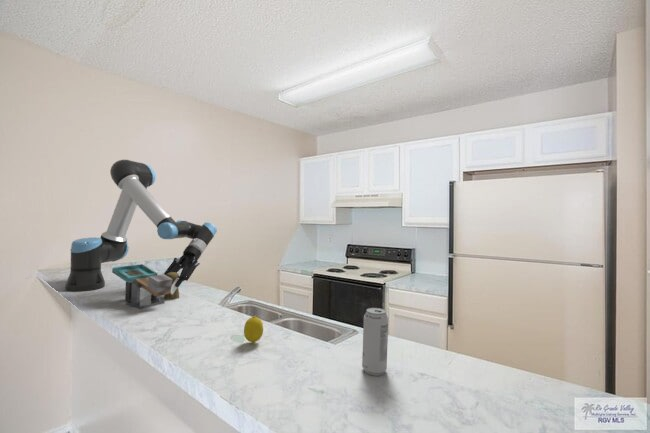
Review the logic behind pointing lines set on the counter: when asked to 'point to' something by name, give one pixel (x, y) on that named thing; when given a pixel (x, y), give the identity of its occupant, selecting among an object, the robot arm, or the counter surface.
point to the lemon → (253, 329)
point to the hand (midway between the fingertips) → (165, 291)
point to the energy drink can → (375, 341)
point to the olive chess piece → (173, 276)
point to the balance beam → (145, 278)
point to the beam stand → (134, 297)
